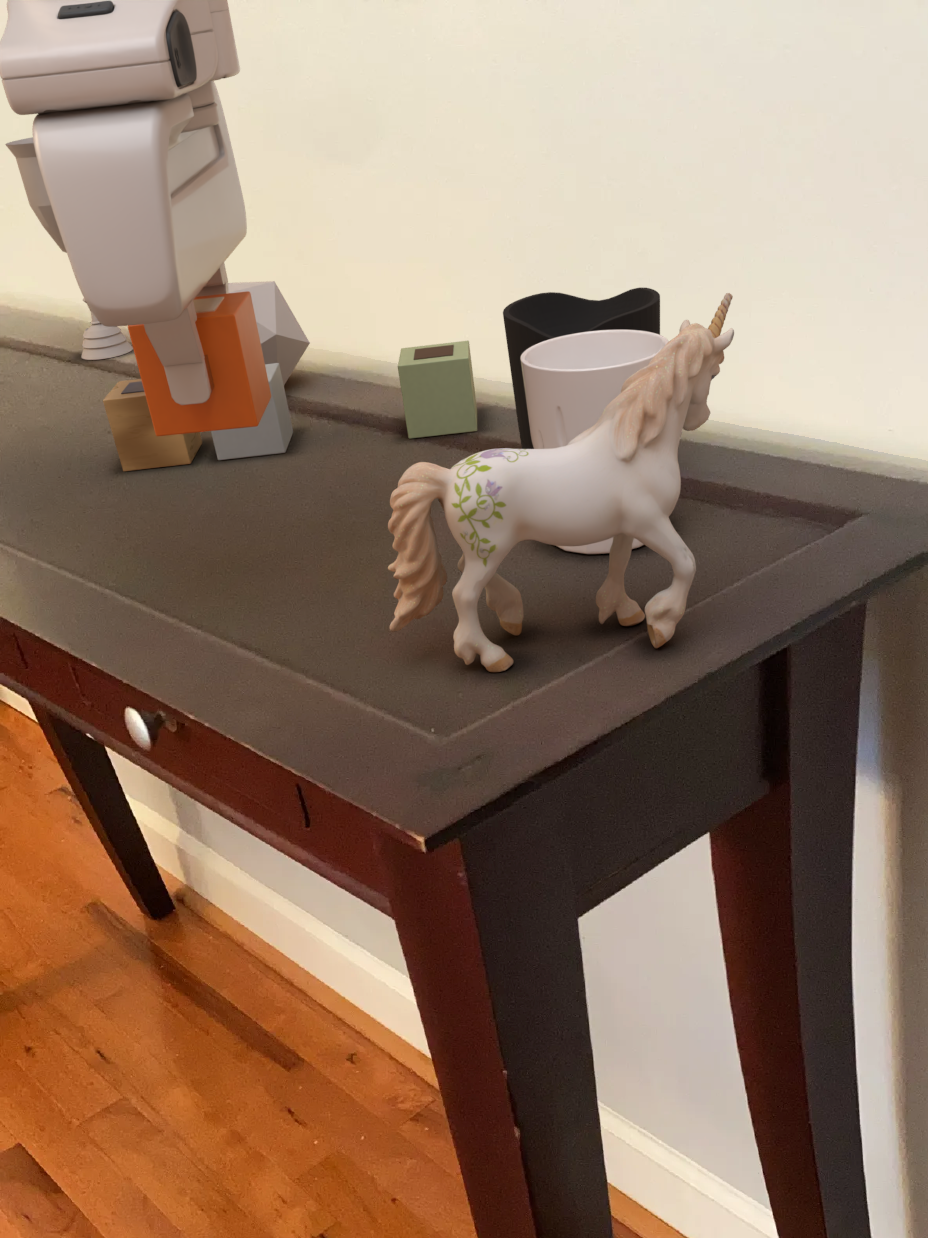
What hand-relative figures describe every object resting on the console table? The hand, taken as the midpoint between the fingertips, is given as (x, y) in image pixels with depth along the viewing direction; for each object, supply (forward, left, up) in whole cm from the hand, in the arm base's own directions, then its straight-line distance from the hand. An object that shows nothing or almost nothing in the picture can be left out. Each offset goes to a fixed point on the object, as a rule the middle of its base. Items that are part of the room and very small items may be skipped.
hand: (207, 382), depth 62 cm
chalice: (-25, +68, -12) cm, 73 cm away
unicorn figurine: (+17, -5, -12) cm, 22 cm away
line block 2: (-5, +31, -12) cm, 34 cm away
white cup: (+19, +6, -12) cm, 24 cm away
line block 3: (+9, +31, -12) cm, 34 cm away
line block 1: (-12, +31, -12) cm, 35 cm away
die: (-7, +47, -12) cm, 49 cm away
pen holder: (+19, +17, -12) cm, 28 cm away
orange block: (0, 0, -2) cm, 2 cm away
